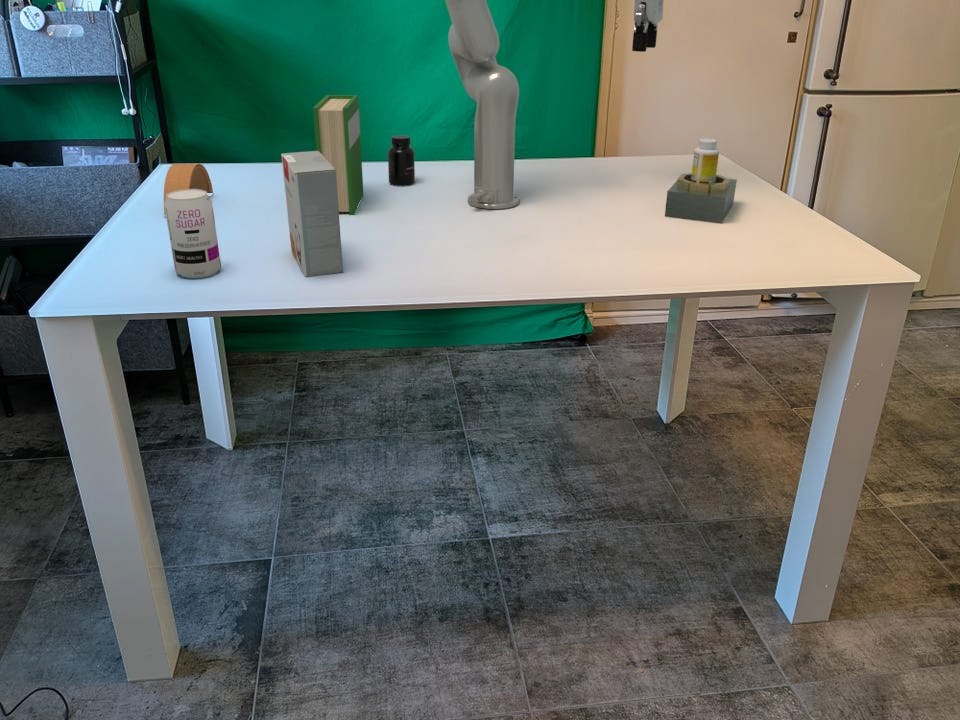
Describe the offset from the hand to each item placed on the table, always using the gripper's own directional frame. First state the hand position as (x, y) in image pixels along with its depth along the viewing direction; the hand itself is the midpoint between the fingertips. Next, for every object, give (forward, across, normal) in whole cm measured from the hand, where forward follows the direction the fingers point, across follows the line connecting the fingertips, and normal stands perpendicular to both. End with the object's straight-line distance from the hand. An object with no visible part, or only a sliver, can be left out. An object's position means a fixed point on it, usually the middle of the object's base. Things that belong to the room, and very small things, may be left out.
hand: (643, 49), depth 194 cm
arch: (+35, -57, +92) cm, 114 cm away
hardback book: (+34, -41, +60) cm, 80 cm away
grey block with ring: (+34, -7, -19) cm, 40 cm away
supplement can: (+34, -92, +60) cm, 115 cm away
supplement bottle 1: (+34, -17, +57) cm, 69 cm away
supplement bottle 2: (+28, -9, -19) cm, 35 cm away
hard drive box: (+35, -78, +43) cm, 96 cm away
